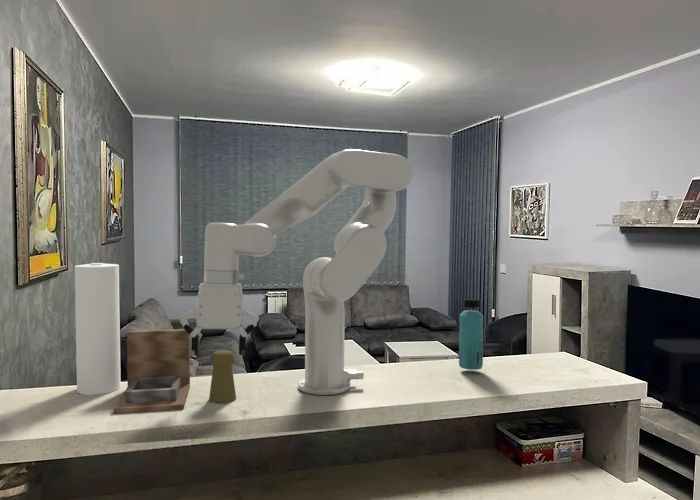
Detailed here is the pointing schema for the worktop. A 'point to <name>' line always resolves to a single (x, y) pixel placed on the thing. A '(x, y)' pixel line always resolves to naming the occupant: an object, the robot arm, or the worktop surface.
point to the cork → (222, 378)
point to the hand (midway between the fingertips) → (218, 353)
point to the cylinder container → (97, 328)
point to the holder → (156, 371)
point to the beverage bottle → (471, 337)
